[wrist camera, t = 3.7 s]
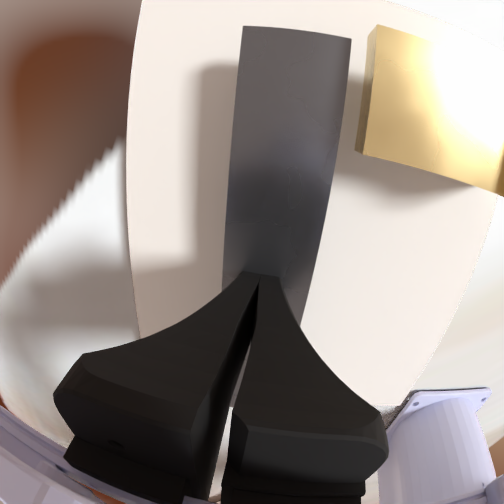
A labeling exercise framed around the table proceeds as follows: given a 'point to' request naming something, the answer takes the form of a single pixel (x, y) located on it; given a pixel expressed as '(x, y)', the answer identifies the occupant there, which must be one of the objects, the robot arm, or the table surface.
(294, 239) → the dark grey flat bar
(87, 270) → the table surface
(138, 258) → the board
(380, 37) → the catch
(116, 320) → the table surface
